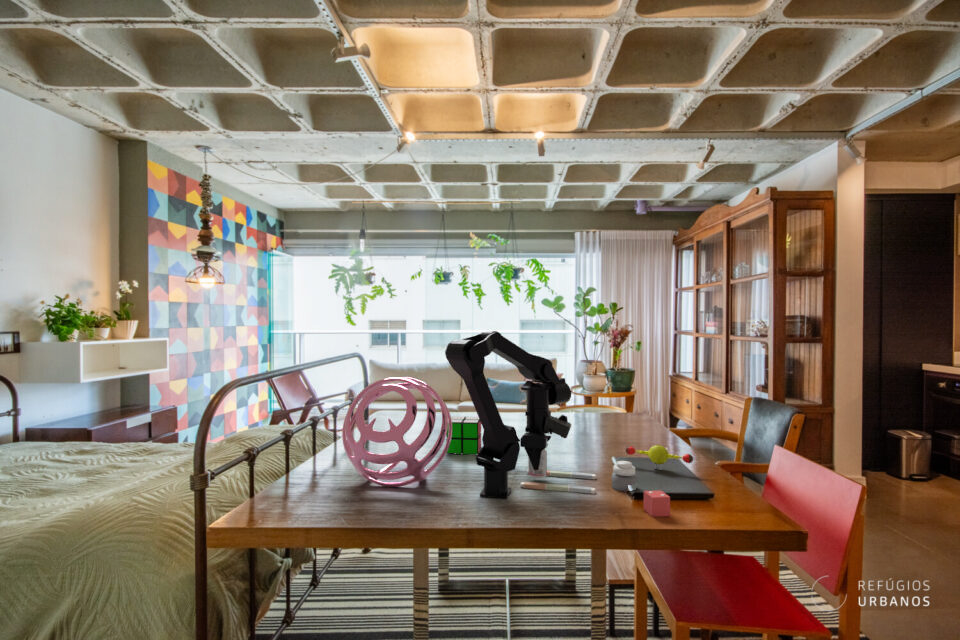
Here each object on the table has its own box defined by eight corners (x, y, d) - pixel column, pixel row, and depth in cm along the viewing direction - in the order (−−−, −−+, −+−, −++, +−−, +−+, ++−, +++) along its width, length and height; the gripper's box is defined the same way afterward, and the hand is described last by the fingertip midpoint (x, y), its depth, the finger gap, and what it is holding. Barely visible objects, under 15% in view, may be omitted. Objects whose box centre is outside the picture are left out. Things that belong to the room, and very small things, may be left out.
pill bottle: (534, 471, 129) (534, 439, 129) (550, 474, 126) (550, 442, 126) (524, 475, 126) (524, 442, 126) (540, 479, 123) (540, 445, 123)
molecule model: (695, 472, 134) (695, 447, 134) (691, 477, 129) (691, 451, 129) (628, 461, 143) (628, 438, 143) (623, 466, 138) (623, 442, 139)
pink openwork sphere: (390, 391, 149) (362, 345, 127) (474, 419, 141) (460, 375, 118) (344, 479, 135) (303, 444, 113) (434, 515, 127) (410, 485, 105)
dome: (636, 476, 118) (636, 466, 118) (613, 474, 119) (613, 465, 119) (634, 470, 123) (634, 460, 123) (613, 468, 124) (613, 459, 124)
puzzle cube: (481, 447, 160) (481, 416, 160) (478, 455, 150) (478, 422, 150) (451, 446, 161) (451, 416, 161) (446, 454, 151) (446, 422, 151)
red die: (670, 515, 103) (670, 496, 103) (652, 516, 103) (652, 497, 103) (661, 508, 107) (661, 490, 107) (643, 509, 107) (643, 490, 107)
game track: (638, 497, 114) (638, 484, 114) (520, 487, 121) (520, 475, 121) (635, 480, 126) (635, 468, 126) (527, 472, 133) (527, 461, 133)
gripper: (566, 414, 115) (566, 481, 115) (571, 402, 133) (571, 459, 133) (520, 412, 118) (519, 477, 118) (530, 400, 136) (530, 456, 136)
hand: (537, 467), depth 126 cm, fingers closed on pill bottle, 5 cm apart
